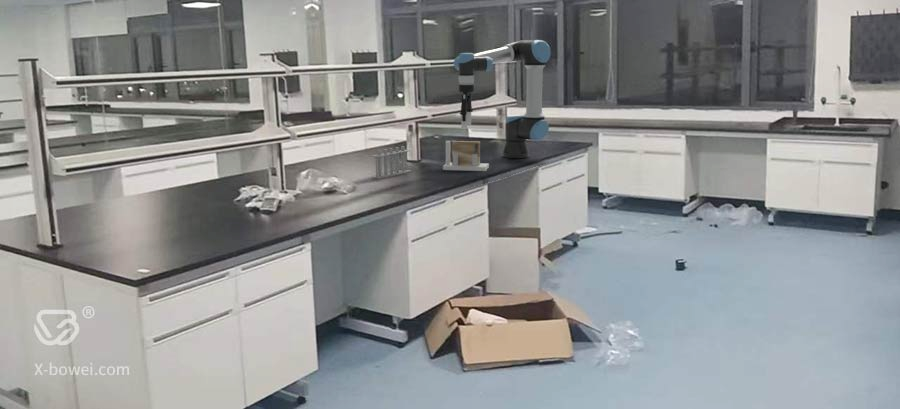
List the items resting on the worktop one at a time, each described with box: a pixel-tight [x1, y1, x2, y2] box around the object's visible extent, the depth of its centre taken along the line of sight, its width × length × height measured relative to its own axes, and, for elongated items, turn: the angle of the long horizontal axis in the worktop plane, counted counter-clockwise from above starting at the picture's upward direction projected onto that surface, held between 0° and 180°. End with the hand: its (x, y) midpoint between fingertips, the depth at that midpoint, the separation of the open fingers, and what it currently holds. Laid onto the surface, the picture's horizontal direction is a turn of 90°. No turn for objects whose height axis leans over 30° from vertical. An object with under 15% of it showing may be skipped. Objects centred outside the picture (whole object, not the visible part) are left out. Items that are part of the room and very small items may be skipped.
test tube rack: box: [371, 145, 412, 180], centre depth 372 cm, size 25×4×13 cm, turn 144°
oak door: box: [451, 140, 481, 165], centre depth 389 cm, size 4×14×12 cm, turn 80°
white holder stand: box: [442, 140, 490, 172], centre depth 389 cm, size 12×22×14 cm, turn 79°
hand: (466, 126), depth 386 cm, fingers open, 13 cm apart
